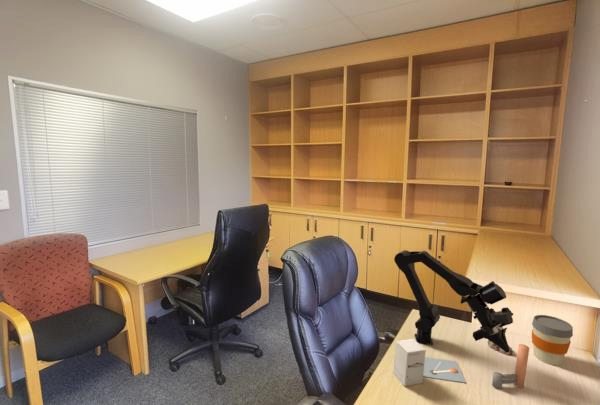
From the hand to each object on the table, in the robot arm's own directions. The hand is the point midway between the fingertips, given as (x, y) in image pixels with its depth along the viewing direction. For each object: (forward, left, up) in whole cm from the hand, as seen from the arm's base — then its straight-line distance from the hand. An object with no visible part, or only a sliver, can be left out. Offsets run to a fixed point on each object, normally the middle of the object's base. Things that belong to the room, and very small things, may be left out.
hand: (508, 352), depth 115 cm
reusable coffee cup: (-16, +21, -10) cm, 28 cm away
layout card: (+1, -22, -9) cm, 24 cm away
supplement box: (+9, -35, -10) cm, 37 cm away
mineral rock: (-19, +5, -10) cm, 22 cm away
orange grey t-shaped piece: (+6, -1, -9) cm, 11 cm away
